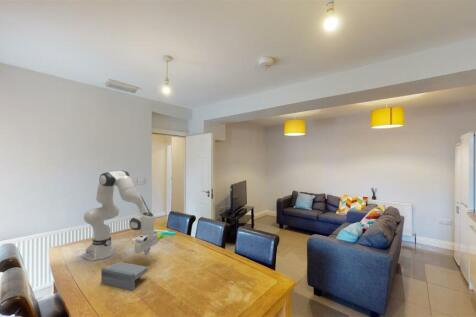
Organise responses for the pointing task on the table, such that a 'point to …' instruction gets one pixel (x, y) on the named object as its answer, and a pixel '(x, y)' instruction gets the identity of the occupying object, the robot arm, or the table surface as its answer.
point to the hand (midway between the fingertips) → (146, 254)
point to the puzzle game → (160, 234)
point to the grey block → (122, 275)
